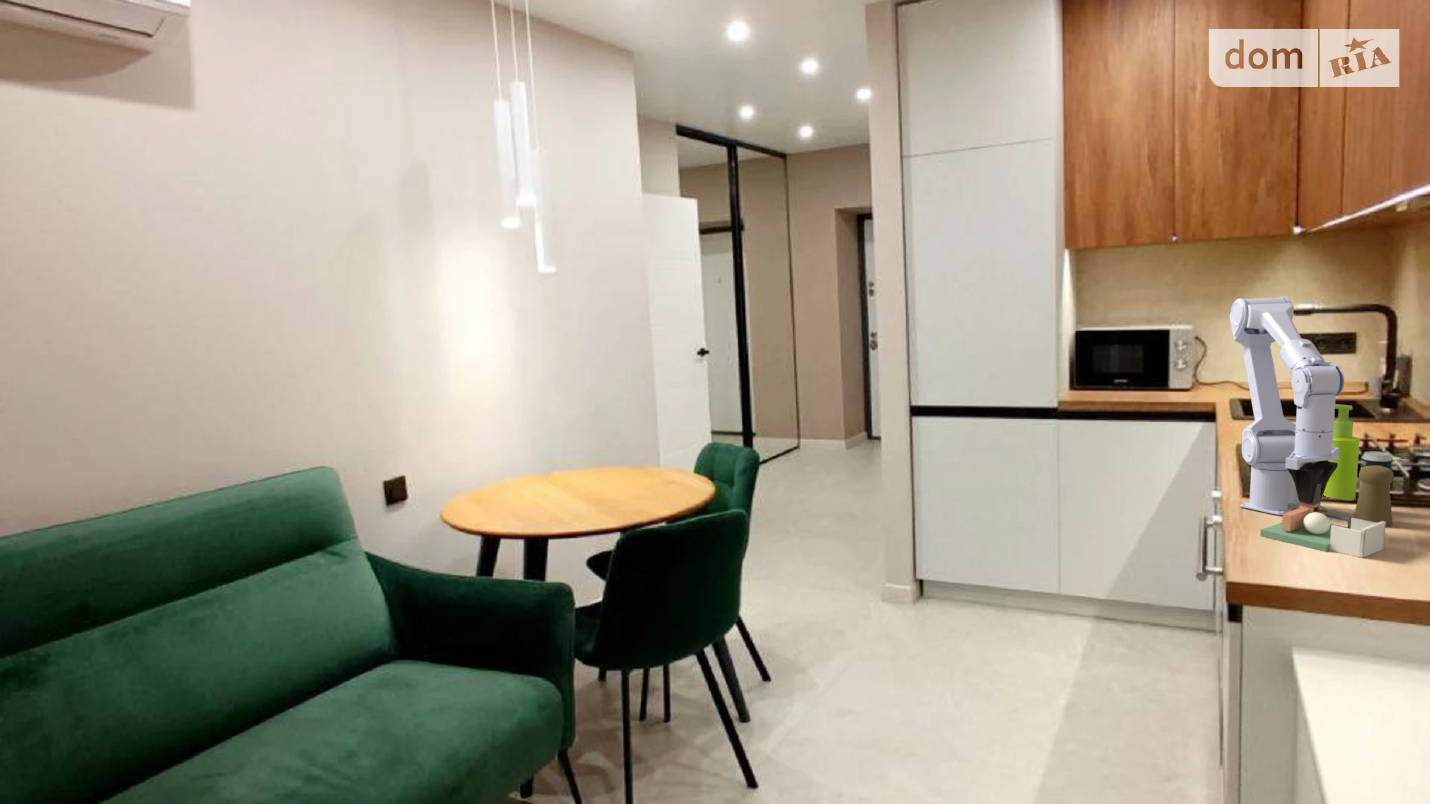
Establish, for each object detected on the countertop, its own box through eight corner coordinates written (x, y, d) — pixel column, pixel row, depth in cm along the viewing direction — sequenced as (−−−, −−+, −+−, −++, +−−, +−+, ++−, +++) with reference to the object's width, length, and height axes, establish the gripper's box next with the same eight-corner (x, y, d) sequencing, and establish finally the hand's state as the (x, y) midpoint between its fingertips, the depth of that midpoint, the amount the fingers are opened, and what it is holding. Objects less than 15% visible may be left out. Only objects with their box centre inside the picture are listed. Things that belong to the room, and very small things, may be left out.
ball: (1309, 529, 155) (1311, 508, 154) (1334, 534, 151) (1335, 513, 151) (1298, 533, 153) (1299, 512, 152) (1322, 538, 150) (1323, 517, 149)
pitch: (1297, 522, 162) (1298, 516, 162) (1363, 536, 153) (1363, 530, 153) (1260, 535, 156) (1260, 529, 156) (1326, 551, 147) (1326, 545, 146)
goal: (1351, 541, 151) (1352, 515, 150) (1383, 549, 146) (1385, 521, 146) (1329, 550, 147) (1331, 522, 146) (1362, 557, 143) (1364, 529, 142)
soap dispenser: (1314, 492, 181) (1320, 402, 178) (1354, 496, 177) (1361, 403, 174) (1314, 499, 176) (1320, 406, 173) (1355, 503, 172) (1362, 408, 169)
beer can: (1359, 507, 170) (1363, 449, 168) (1389, 511, 166) (1394, 452, 164) (1355, 512, 166) (1359, 454, 164) (1386, 517, 163) (1390, 457, 161)
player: (1305, 519, 159) (1307, 482, 158) (1319, 522, 157) (1321, 484, 156) (1278, 528, 155) (1281, 490, 154) (1292, 532, 153) (1295, 493, 151)
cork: (1375, 516, 163) (1379, 462, 162) (1401, 526, 157) (1405, 469, 156) (1345, 518, 163) (1348, 464, 161) (1370, 528, 157) (1374, 471, 155)
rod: (1290, 519, 161) (1291, 502, 160) (1355, 533, 151) (1356, 515, 151) (1286, 520, 160) (1287, 503, 160) (1352, 535, 151) (1353, 516, 150)
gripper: (1317, 438, 148) (1312, 512, 150) (1358, 427, 154) (1353, 498, 157) (1275, 432, 154) (1271, 503, 156) (1316, 422, 161) (1312, 490, 163)
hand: (1309, 500), depth 157 cm, fingers closed on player, 2 cm apart
